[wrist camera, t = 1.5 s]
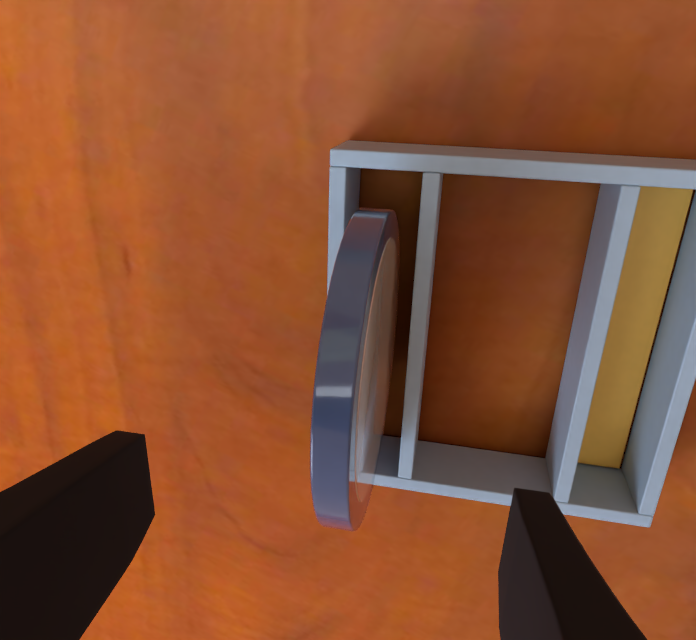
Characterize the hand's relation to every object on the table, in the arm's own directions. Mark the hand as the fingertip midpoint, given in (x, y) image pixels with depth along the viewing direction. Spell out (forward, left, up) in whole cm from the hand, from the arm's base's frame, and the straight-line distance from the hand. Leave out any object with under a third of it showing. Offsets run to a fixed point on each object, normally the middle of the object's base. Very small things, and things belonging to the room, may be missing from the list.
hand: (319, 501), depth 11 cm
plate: (0, 0, -11) cm, 11 cm away
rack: (0, -4, -11) cm, 11 cm away
